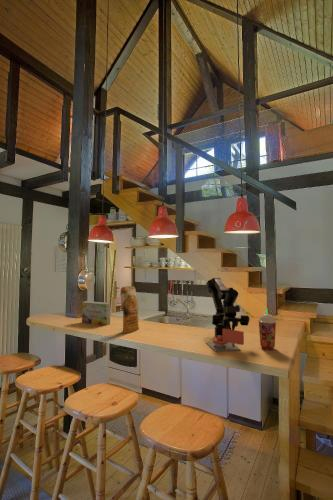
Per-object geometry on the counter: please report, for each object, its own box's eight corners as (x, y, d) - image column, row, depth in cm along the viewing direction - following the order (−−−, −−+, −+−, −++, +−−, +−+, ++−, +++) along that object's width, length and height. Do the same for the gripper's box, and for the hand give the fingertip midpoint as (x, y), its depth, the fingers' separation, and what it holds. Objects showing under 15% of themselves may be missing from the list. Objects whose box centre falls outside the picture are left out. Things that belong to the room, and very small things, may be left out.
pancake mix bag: (116, 333, 168) (116, 287, 169) (134, 327, 184) (134, 285, 186) (125, 334, 165) (125, 287, 166) (142, 328, 181) (143, 285, 183)
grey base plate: (229, 342, 149) (229, 337, 149) (240, 350, 135) (240, 345, 135) (206, 343, 147) (206, 338, 147) (215, 351, 133) (215, 346, 133)
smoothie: (272, 345, 143) (271, 307, 144) (279, 350, 135) (278, 309, 136) (256, 345, 143) (255, 307, 144) (262, 351, 134) (261, 309, 135)
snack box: (81, 323, 197) (81, 301, 198) (86, 321, 202) (86, 300, 203) (106, 325, 188) (106, 303, 189) (110, 324, 194) (111, 302, 194)
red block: (210, 342, 140) (210, 328, 141) (217, 339, 146) (217, 326, 146) (240, 348, 130) (239, 333, 131) (245, 345, 136) (245, 330, 136)
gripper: (212, 299, 145) (214, 325, 133) (248, 299, 144) (253, 326, 132) (211, 311, 152) (213, 337, 141) (245, 312, 151) (250, 338, 140)
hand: (232, 334), depth 138 cm, fingers closed
